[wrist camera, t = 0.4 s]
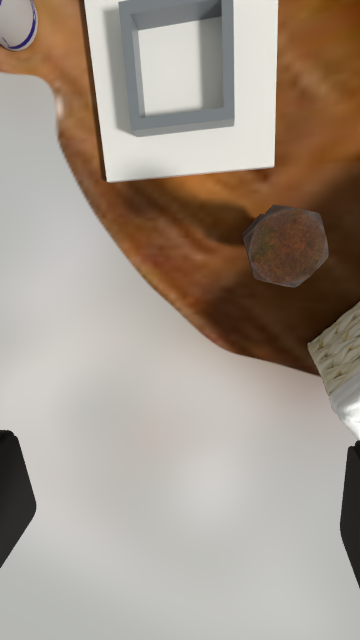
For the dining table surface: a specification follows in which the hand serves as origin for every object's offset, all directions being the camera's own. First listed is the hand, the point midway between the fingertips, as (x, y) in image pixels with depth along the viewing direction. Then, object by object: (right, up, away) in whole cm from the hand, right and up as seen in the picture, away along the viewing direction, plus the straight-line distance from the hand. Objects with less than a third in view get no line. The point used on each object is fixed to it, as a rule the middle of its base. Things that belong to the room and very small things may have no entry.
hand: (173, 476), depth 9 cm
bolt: (+9, +14, +26) cm, 31 cm away
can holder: (0, +29, +23) cm, 37 cm away
